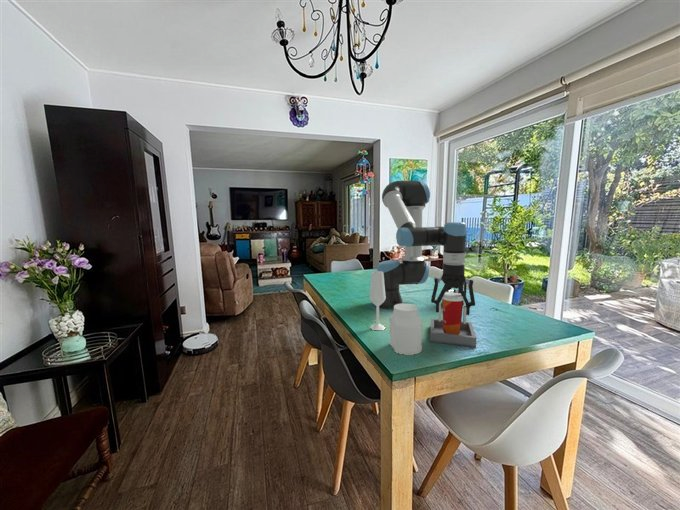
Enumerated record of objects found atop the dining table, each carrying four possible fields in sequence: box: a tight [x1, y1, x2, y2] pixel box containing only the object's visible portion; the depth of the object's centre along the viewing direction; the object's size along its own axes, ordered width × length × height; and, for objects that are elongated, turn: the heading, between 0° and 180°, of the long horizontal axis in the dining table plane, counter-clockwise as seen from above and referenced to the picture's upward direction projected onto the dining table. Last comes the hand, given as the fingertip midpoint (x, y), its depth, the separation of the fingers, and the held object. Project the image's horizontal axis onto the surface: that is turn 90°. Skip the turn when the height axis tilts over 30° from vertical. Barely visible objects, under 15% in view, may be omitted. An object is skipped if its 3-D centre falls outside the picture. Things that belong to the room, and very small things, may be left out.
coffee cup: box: [441, 292, 464, 335], centre depth 106 cm, size 8×8×15 cm
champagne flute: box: [369, 270, 386, 331], centre depth 115 cm, size 7×7×24 cm
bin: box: [429, 318, 477, 348], centre depth 106 cm, size 15×15×4 cm
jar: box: [389, 302, 423, 356], centre depth 97 cm, size 12×10×15 cm
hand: (451, 321), depth 106 cm, fingers closed on coffee cup, 8 cm apart
